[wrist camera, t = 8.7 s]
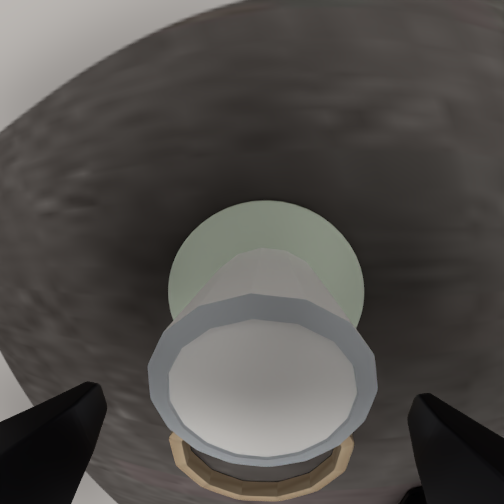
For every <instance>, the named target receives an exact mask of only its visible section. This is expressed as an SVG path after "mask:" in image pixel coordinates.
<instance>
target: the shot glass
mask: <svg viewBox="0 0 504 504" xmlns="http://www.w3.org/2000/svg"><path fill="white" fill-rule="evenodd" d="M148 377H149V388H150V397H151V400H152V402H153V404H154V406H155V407H156V409H157V411H158V412H159V414H160V415H161V417H162V419H163V420H164V422H165V423H166V425H167V427H168V428H169V429H170V430H171V431H173V432H174V433H175V434H176V435H178V436H179V437H180V438H182V439H183V440H184V441H185V442H187V443H188V444H189V445H191V446H192V447H193V448H195V449H196V450H198V451H200V452H203V453H205V454H208V455H210V456H213V457H216V458H218V459H221V460H224V461H226V462H229V463H233V464H242V465H251V466H263V467H272V466H279V465H286V464H292V463H297V462H303V461H307V460H309V459H312V458H314V457H316V456H318V455H320V454H322V453H324V452H327V451H329V450H331V449H333V448H335V447H337V446H339V445H340V444H341V443H342V442H343V441H344V440H346V439H347V438H348V437H349V436H350V435H351V434H352V433H353V432H354V431H355V430H356V429H357V428H358V427H359V426H360V425H361V424H362V423H363V422H364V421H365V419H366V417H367V415H368V412H369V410H370V408H371V405H372V403H373V401H374V398H375V396H376V393H377V391H378V385H377V375H376V365H375V357H374V354H373V352H372V351H371V349H370V348H369V347H368V345H367V344H366V342H365V341H364V340H363V338H362V337H361V335H360V334H359V332H358V331H357V330H356V328H355V327H354V325H353V324H352V323H351V321H350V320H349V318H348V317H347V316H346V314H345V313H344V312H343V310H342V309H341V307H340V306H339V305H338V303H337V302H336V301H335V299H334V298H333V296H332V295H331V294H330V292H329V291H328V290H327V288H326V287H325V285H324V284H323V283H322V281H321V280H320V279H319V277H318V276H317V275H316V274H315V272H314V271H313V270H312V268H311V267H310V266H309V265H308V263H307V262H306V261H304V260H302V259H300V258H298V257H297V256H295V255H293V254H291V253H289V252H288V251H286V250H277V249H269V248H258V249H255V250H251V251H247V252H244V253H240V254H237V255H236V256H235V257H234V258H232V259H231V260H230V261H228V262H227V263H226V264H225V265H223V266H222V267H221V268H220V269H219V270H218V271H217V272H216V273H215V274H214V275H213V276H212V278H211V279H210V280H209V281H208V282H207V283H206V284H205V285H204V287H203V288H202V289H201V290H200V291H199V292H198V293H197V295H196V296H195V297H194V298H193V299H192V300H191V301H190V302H189V304H188V305H187V306H186V307H185V308H184V309H183V310H182V311H181V313H180V314H179V315H178V316H177V317H176V318H175V319H174V321H173V322H172V323H171V324H170V325H169V326H168V327H167V329H166V330H165V331H164V332H163V334H162V336H161V338H160V340H159V342H158V344H157V346H156V348H155V351H154V353H153V355H152V357H151V359H150V361H149V364H148Z"/></svg>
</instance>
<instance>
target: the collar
mask: <svg viewBox="0 0 504 504" xmlns="http://www.w3.org/2000/svg"><path fill="white" fill-rule="evenodd" d="M169 441H170V445H171V449H172V453H173V456H174V460H175V463H176V465H177V467H179V468H180V469H181V470H182V471H183V472H184V473H185V474H187V475H188V476H189V477H190V478H191V479H193V480H194V481H195V482H196V483H197V484H199V485H200V486H201V487H203V488H205V489H208V490H211V491H214V492H217V493H219V494H222V495H225V496H228V497H231V498H235V499H239V500H251V501H283V500H287V499H291V498H295V497H298V496H302V495H306V494H309V493H313V492H316V491H318V490H320V489H321V488H323V487H324V486H325V485H327V484H328V483H330V482H331V481H332V480H334V479H335V478H336V477H338V476H339V475H340V474H342V473H343V472H344V471H345V470H346V467H347V464H348V462H349V459H350V456H351V453H352V450H353V447H354V440H353V436H352V434H351V435H350V436H349V437H348V438H347V439H346V440H344V441H343V442H342V443H341V444H340V445H339V446H337V447H335V448H334V449H333V453H332V455H331V456H330V457H329V458H327V459H326V460H325V461H324V462H323V463H321V464H320V465H319V466H318V467H316V468H315V469H314V470H313V471H311V472H310V473H308V474H304V475H301V476H298V477H294V478H291V479H287V480H284V481H280V482H253V481H241V480H238V479H236V478H233V477H230V476H227V475H224V474H222V473H219V472H216V471H214V470H212V469H211V468H209V467H208V466H207V465H206V464H205V463H204V462H203V461H202V460H201V459H200V458H199V457H197V456H196V455H195V454H194V453H193V452H192V451H191V448H190V445H189V444H188V443H187V442H185V441H184V440H183V439H182V438H180V437H179V436H178V435H176V434H175V433H174V432H173V431H171V434H170V437H169Z"/></svg>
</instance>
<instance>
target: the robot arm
mask: <svg viewBox="0 0 504 504" xmlns="http://www.w3.org/2000/svg"><path fill="white" fill-rule="evenodd" d="M106 412H107V403H106V400H105V397H104V394H103V391H102V388H101V386H100V385H99V384H98V383H94V382H88V381H87V382H85V383H82V384H80V385H78V386H76V387H74V388H72V389H70V390H68V391H66V392H64V393H62V394H60V395H58V396H56V397H53V398H51V399H49V400H47V401H45V402H43V403H41V404H39V405H36V406H34V407H32V408H30V409H28V410H26V411H23V412H21V413H19V414H17V415H15V416H12V417H10V418H8V419H6V420H3V421H1V422H0V504H71V503H72V500H73V498H74V496H75V493H76V491H77V488H78V486H79V484H80V481H81V479H82V477H83V474H84V472H85V470H86V468H87V465H88V463H89V461H90V459H91V456H92V454H93V451H94V449H95V446H96V443H97V440H98V437H99V433H100V430H101V427H102V424H103V421H104V418H105V415H106ZM408 426H409V431H410V436H411V441H412V446H413V452H414V457H415V462H416V466H417V470H418V473H419V476H420V480H421V483H422V487H421V488H417V489H413V490H411V491H409V492H408V493H407V495H406V496H405V497H404V499H403V500H402V502H401V503H400V504H504V438H503V437H501V436H499V435H498V434H496V433H494V432H493V431H491V430H489V429H488V428H486V427H484V426H483V425H481V424H479V423H478V422H476V421H474V420H473V419H471V418H470V417H468V416H466V415H465V414H463V413H461V412H460V411H458V410H457V409H455V408H453V407H452V406H450V405H448V404H447V403H445V402H444V401H442V400H440V399H439V398H437V397H436V396H434V395H432V394H431V393H423V394H418V395H416V397H415V398H414V401H413V404H412V406H411V409H410V411H409V414H408Z"/></svg>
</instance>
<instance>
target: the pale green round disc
mask: <svg viewBox="0 0 504 504" xmlns="http://www.w3.org/2000/svg"><path fill="white" fill-rule="evenodd" d="M258 248H269V249H277V250H286V251H288V252H289V253H291V254H293V255H295V256H297V257H298V258H300V259H302V260H304V261H306V262H307V263H308V265H309V266H310V267H311V268H312V270H313V271H314V272H315V274H316V275H317V276H318V277H319V279H320V280H321V281H322V283H323V284H324V285H325V287H326V288H327V290H328V291H329V292H330V294H331V295H332V296H333V298H334V299H335V301H336V302H337V303H338V305H339V306H340V307H341V309H342V310H343V312H344V313H345V314H346V316H347V317H348V318H349V320H350V321H351V323H352V324H353V325H354V327H355V328H356V327H357V325H358V322H359V319H360V317H361V313H362V308H363V303H364V281H363V276H362V271H361V267H360V265H359V262H358V259H357V257H356V255H355V253H354V251H353V249H352V248H351V246H350V244H349V243H348V242H347V240H346V239H345V238H344V236H343V235H342V234H341V233H340V232H339V231H338V230H337V229H336V228H335V227H334V226H333V225H332V224H331V223H330V222H328V221H327V220H325V219H324V218H323V217H321V216H320V215H318V214H316V213H315V212H313V211H311V210H309V209H307V208H304V207H301V206H299V205H296V204H292V203H288V202H283V201H275V200H256V201H249V202H244V203H239V204H236V205H233V206H230V207H227V208H225V209H223V210H221V211H219V212H217V213H215V214H214V215H212V216H211V217H210V218H208V219H207V220H205V221H204V222H203V223H201V224H200V225H199V226H198V227H197V228H196V229H195V230H194V231H193V232H192V233H191V234H190V235H189V236H188V238H187V239H186V240H185V241H184V243H183V244H182V246H181V248H180V249H179V251H178V253H177V255H176V257H175V260H174V262H173V264H172V268H171V272H170V276H169V284H168V299H169V305H170V311H171V314H172V318H173V321H174V319H175V318H176V317H177V316H178V315H179V314H180V313H181V311H182V310H183V309H184V308H185V307H186V306H187V305H188V304H189V302H190V301H191V300H192V299H193V298H194V297H195V296H196V295H197V293H198V292H199V291H200V290H201V289H202V288H203V287H204V285H205V284H206V283H207V282H208V281H209V280H210V279H211V278H212V276H213V275H214V274H215V273H216V272H217V271H218V270H219V269H220V268H221V267H222V266H223V265H225V264H226V263H227V262H228V261H230V260H231V259H232V258H234V257H235V256H236V255H237V254H240V253H244V252H247V251H251V250H255V249H258Z"/></svg>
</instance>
